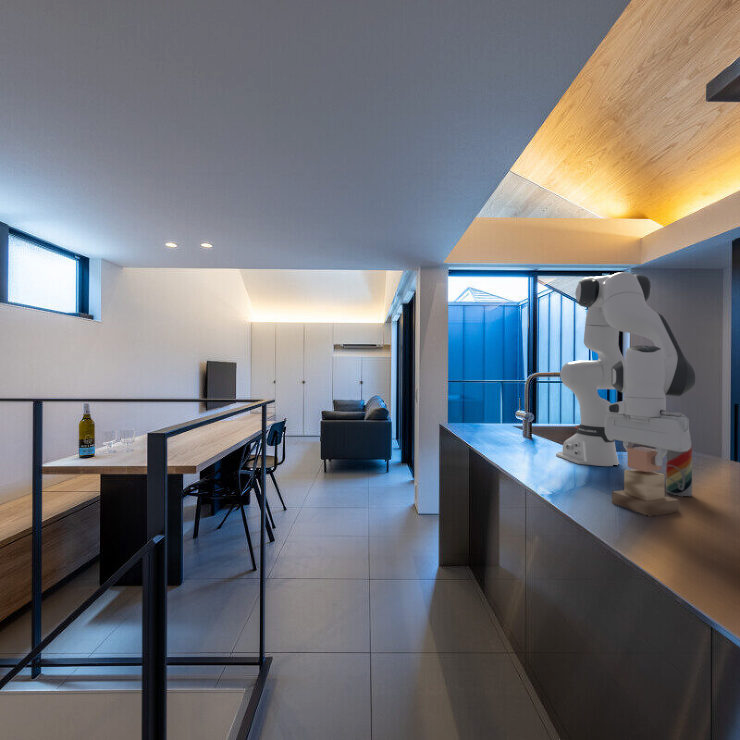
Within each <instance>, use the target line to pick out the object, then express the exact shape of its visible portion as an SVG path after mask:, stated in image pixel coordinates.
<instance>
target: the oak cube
mask: <svg viewBox="0 0 740 740" xmlns="http://www.w3.org/2000/svg"><path fill="white" fill-rule="evenodd" d="M623 472H624V476H623V477H624V479H623V483H624V484H623V486H624V487H623V488H624V489H623V490H624V493H626V494H629V495H632V496H635V497H638V498H641V499H644V500H654V499H661V498H664V496H665V474H664V473H661V472H658V471H650V472H645V471H641V470H637V469H633V468H630V469H625V470H624V471H623Z"/></svg>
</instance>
